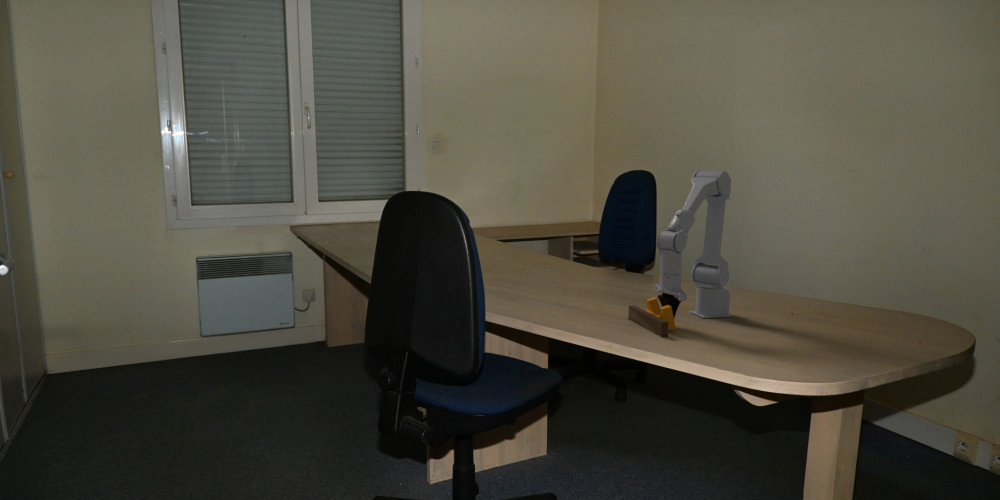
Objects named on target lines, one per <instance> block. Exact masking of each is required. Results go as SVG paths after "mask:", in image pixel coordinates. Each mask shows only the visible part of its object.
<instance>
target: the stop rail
mask: <svg viewBox="0 0 1000 500" xmlns="http://www.w3.org/2000/svg"><path fill="white" fill-rule="evenodd" d="M627 319H628V320H629V321H631V322H633V323H634V324H637V325H639V327H642V328H643V329H645V330H648V331H650V333H653V334H655V335H657V336H658V337H660V338H667V337H668V335H669V331H668V323H669V322H667V321H665V320H663V319H661V318H659V317H657V316H655V315H653V314H651V313H649V312H647V310H645V309H644V308H643V309H642V308H641V307H639V306H637V305H628V317H627Z"/></svg>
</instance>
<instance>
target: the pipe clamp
mask: <svg viewBox="0 0 1000 500" xmlns="http://www.w3.org/2000/svg"><path fill="white" fill-rule="evenodd" d="M657 298H658V297H655V296H653V297H650V298H647V299H645V302H646V306H647V310H646V311H647V312H649V313H651V314H653V315H655V316H657V317H659V318H661V319H663V320H665V321H667V322H669V323H668V332H669V331H671V330H675V329H677V328H676V322H675V318H674V317H673V312H672V307H671V306H669V305H666V306H663V307H662V306H661V307H660V305H659V302H658V299H657Z"/></svg>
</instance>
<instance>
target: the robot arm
mask: <svg viewBox="0 0 1000 500" xmlns="http://www.w3.org/2000/svg"><path fill="white" fill-rule="evenodd" d="M731 178H732V177H730V175H729V173H728V171H726V170H725V171H712V170H711V171H709V170H705V171H704V170H696V171H694V172H693V174H692V176H691V179H690V191H689V194H688V196H687V198H686V199H685V203H684V205H683V207H682V209H678V210H677V211H675V214H674V216H673V217H672V218H671V221H670V222H669V223H668V226H667V227H666V230H663V231H660V233H658V236H657V240H656V241H655V243H656V247H657V250H658V256H659V257H660V266H659V270H660V271H659V283H654V291H656V292H658V293H661V294H659V295H657V298H658V299H657V300H659V302H660V305H661V307H663V306H666V305H669V306H671V307H672V312H673V317H674V319H675V317H676V314H677V311H678V309H679V306H680V304H681V302H686V301H688V293H687V292H685V291H684V290H683V289H682V287H681V286H682V260H683V259H682V254H683V251H684V250H685V249H686V247H687V244H688V243H687V242H688V237H689V235H688V234H689V232H690V231H691V228H692V227H693V225H694V223H695V221H696V218H695V214H696V212H697V211H698V209H699V208H700V207H701V205H702V203H703V202H704V201H706V203H707V208H706V218H705V228H704V237H703V244H702V245H703V246H702V247H703V248H702V254H700V255H699V256H698V257H696V258H695V259H694V263H693V266H692V269H691V280H692V282H694V286H696V296H695V299H696V300H695V310H689V313H691V314H693V315H696V316H698V317H700V318H702V319H709V318H711V319H714V318H729V317H731V314H730V306H731V305H730V303H731V301H730V300H731V293H730V290H729V288H728V287H727V286H726V285H727V284H728V282H729V278H730V273H729V272H730V271H729V262H728V260H726V258H723V256H722V255H721V253H722V252H721V250H722V243H723V242H722V240H723V232H724V224H725V223H724V222H725V213H726V212H725V211H726V204H727V200H729V199H730V196H731V190H732V189H731V186H732V179H731Z"/></svg>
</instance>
